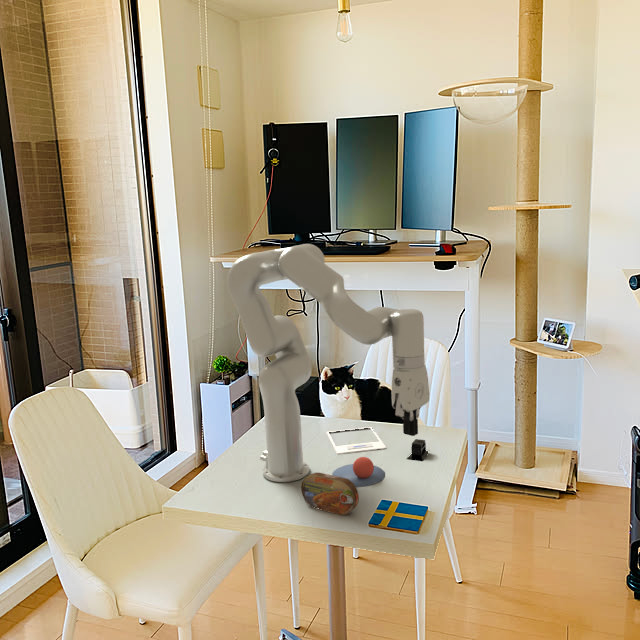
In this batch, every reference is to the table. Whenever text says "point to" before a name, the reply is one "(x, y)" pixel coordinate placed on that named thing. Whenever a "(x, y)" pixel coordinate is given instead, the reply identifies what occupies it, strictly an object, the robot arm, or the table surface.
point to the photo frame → (357, 445)
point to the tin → (330, 493)
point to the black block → (418, 450)
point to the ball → (363, 467)
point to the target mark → (358, 482)
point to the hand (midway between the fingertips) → (410, 433)
